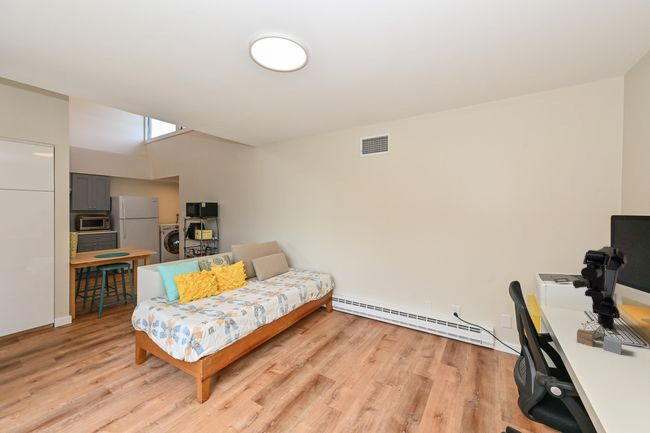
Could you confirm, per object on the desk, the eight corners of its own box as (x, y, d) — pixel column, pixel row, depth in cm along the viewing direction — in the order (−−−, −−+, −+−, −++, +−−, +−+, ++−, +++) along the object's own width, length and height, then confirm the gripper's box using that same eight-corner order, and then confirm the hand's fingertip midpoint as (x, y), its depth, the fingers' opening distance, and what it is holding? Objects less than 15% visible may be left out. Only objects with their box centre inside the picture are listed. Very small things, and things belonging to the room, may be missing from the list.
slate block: (604, 346, 117) (605, 335, 117) (621, 350, 113) (621, 339, 113) (603, 350, 114) (603, 339, 114) (620, 355, 110) (621, 343, 110)
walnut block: (578, 338, 124) (578, 328, 124) (593, 343, 120) (593, 332, 120) (576, 342, 121) (577, 331, 121) (592, 346, 117) (592, 336, 117)
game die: (599, 346, 123) (617, 336, 117) (580, 339, 125) (597, 328, 119) (591, 330, 130) (608, 319, 124) (572, 323, 132) (588, 312, 125)
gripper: (577, 270, 139) (576, 298, 140) (570, 276, 127) (570, 307, 128) (607, 274, 131) (607, 304, 131) (604, 281, 119) (603, 314, 119)
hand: (595, 307), depth 128 cm, fingers closed
